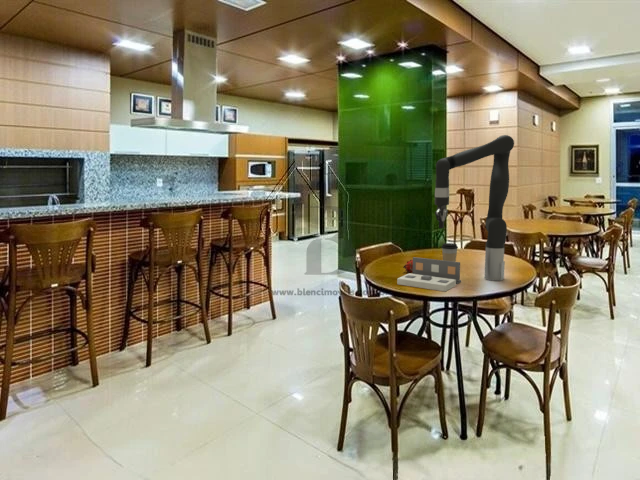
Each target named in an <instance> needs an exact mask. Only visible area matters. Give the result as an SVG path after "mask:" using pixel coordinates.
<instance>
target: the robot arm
mask: <svg viewBox="0 0 640 480" xmlns="http://www.w3.org/2000/svg"><path fill="white" fill-rule="evenodd" d="M514 145H515V140H514V138H513V137H512V136H510V135H508V134H503V135H500V136H499V137H496V139H494V140H492V141H490V142H488V143H485V144H482V145H479V146H476V147H471V148H470V149H466V150H463V151H460V152H458V153H457V152H456V153H455V154H453V155H450V156H446V157H443V158H440V159H439V160H437V162H436V164H435V189H434V205H435V206H436V211H434V215H435V218H436V221H438V228H439V229H443V228H444V226H445V224H444V223H445V220H446V219H447V216H448V213H449V210H448V209H447V206H450V171H451V170H453V169H455V168H459V167H462V166H465V165H468V164H471V163H474V162H476V161H479V160H481V159H484V158H487V157H490V156H493V164H492V169H491V176H490V180H489V181H490V182H489V194H488V195H489V196H488V210H487V214H486V219H485V228H486V230H487V239H486V241H485V253H484V255H485V257H484V279H485V280H487V281H488V280H489V281H499V282H500V281H502V280H503V279H504V278H505V265H506V264H505V263H506V261H504V258H505V245H506V241H507V230H508V227H507V222H506V220H504V219H503V211H504V210H503V209H504V205H505V202H506V201H507V197H508V194H509V188H510V187H509V185H510V171H509V169H510V167H509V162H510V156H511V155H510V154H511V151H512V150H513V148H514Z"/></svg>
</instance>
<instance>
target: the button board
mask: <svg viewBox="0 0 640 480" xmlns="http://www.w3.org/2000/svg"><path fill="white" fill-rule="evenodd" d="M408 275H411V276H415V278H406V276H408ZM421 276H423V275H418V274H413V273H412V272H411V273H409V272H408V273H407V274H404V275H402V276H400V277H398V278H397V279H396V280H397V281H396V283H397V284H396V285H400V286H405V287H406V286H408V287H414V288H420V289H426V290H431V291H432V290H433V291H439V292H447V291H449V290H451V289H452V288H454V287H455V286H457V284H456V280H455V279H448V278H440V277H433V276H432V279H431V280H430V281H427V280H421ZM440 280H446V281H449V282H447V283H441V282H438V281H440Z"/></svg>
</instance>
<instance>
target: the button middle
mask: <svg viewBox="0 0 640 480" xmlns="http://www.w3.org/2000/svg"><path fill="white" fill-rule="evenodd" d="M431 279H432V276H428V275H423V276H421V280H427V281H430V280H431Z"/></svg>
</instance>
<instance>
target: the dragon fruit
mask: <svg viewBox="0 0 640 480" xmlns="http://www.w3.org/2000/svg"><path fill="white" fill-rule="evenodd" d="M402 268H403V269H405V270H404V271H405V272H406V273H408V274H409V273H411V274H412V273H413V259H410V260H408V261H406V263H405V264H404V265H403V267H402Z"/></svg>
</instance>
